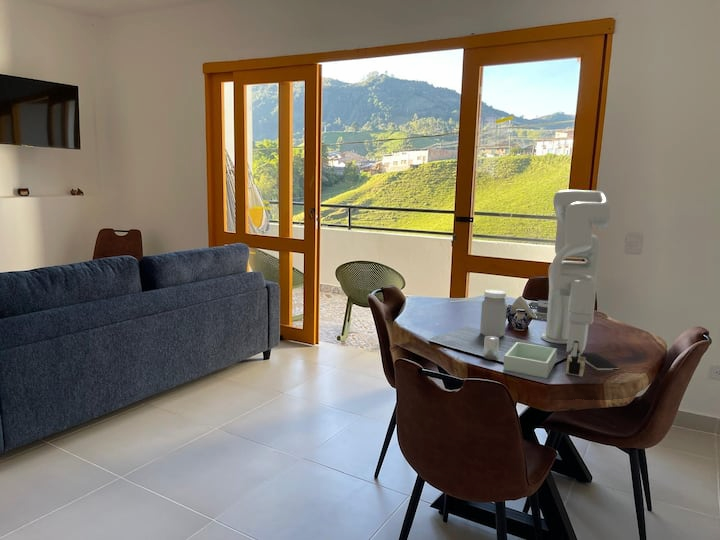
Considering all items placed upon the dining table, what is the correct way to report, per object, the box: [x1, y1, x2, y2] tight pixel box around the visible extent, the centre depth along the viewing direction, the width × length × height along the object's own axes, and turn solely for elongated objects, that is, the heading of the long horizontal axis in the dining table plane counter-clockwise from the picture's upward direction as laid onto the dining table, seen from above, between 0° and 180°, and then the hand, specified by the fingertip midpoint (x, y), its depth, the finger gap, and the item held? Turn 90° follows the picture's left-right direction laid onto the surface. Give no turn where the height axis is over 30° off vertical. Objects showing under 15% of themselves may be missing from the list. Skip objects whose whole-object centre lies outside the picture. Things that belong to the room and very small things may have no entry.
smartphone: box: [582, 352, 620, 371], centre depth 182 cm, size 8×1×15 cm
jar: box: [479, 288, 508, 339], centre depth 210 cm, size 10×10×18 cm
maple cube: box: [565, 354, 586, 378], centre depth 170 cm, size 5×5×5 cm
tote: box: [503, 341, 558, 379], centre depth 176 cm, size 18×14×5 cm
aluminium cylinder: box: [482, 336, 500, 360], centre depth 184 cm, size 5×5×7 cm
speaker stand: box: [527, 301, 547, 321], centre depth 246 cm, size 23×23×3 cm
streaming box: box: [536, 299, 548, 314], centre depth 248 cm, size 14×14×5 cm
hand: (575, 370), depth 170 cm, fingers closed on maple cube, 4 cm apart
